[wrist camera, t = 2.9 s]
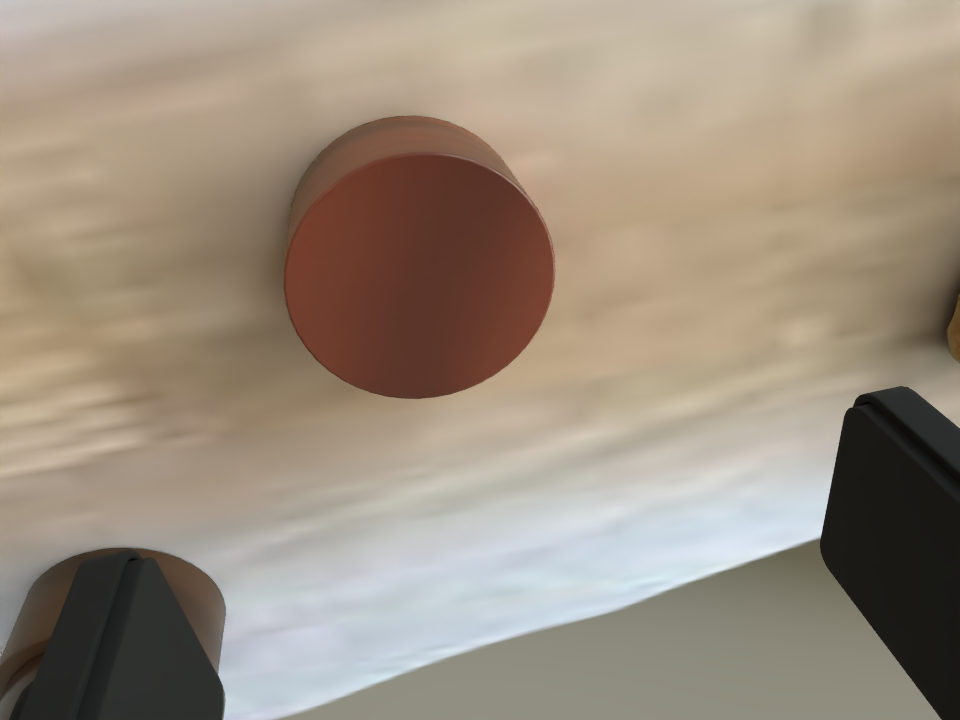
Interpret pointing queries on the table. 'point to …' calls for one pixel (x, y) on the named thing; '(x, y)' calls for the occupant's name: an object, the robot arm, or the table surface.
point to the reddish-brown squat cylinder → (415, 259)
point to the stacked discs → (47, 598)
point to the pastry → (955, 333)
